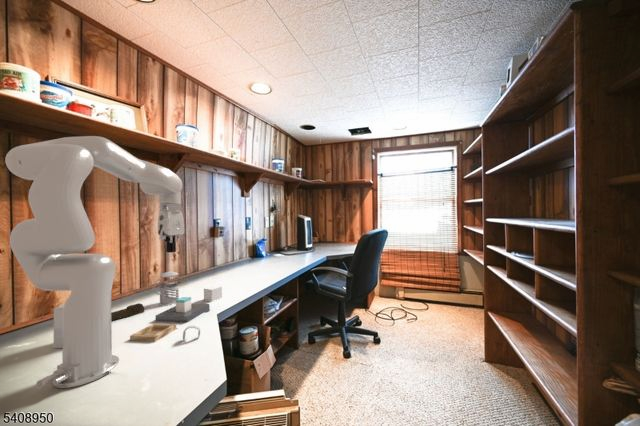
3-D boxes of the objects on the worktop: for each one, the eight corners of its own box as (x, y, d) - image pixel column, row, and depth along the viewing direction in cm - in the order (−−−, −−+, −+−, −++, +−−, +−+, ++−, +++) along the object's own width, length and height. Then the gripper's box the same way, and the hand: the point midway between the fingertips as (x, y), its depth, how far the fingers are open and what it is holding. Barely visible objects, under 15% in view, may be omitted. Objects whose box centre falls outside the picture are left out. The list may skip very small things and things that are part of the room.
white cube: (212, 302, 119) (211, 289, 119) (203, 300, 122) (203, 288, 122) (222, 298, 124) (221, 286, 125) (214, 296, 127) (213, 285, 127)
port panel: (187, 324, 93) (187, 316, 93) (155, 323, 95) (155, 315, 95) (209, 310, 107) (209, 303, 107) (181, 309, 109) (181, 303, 109)
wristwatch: (183, 341, 80) (183, 326, 80) (200, 338, 82) (200, 323, 82) (182, 345, 77) (182, 329, 77) (199, 342, 79) (199, 326, 79)
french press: (183, 302, 120) (182, 251, 121) (156, 308, 112) (155, 254, 112) (177, 298, 127) (176, 250, 128) (151, 304, 119) (150, 253, 119)
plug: (184, 317, 99) (184, 300, 99) (176, 317, 100) (175, 300, 100) (191, 313, 103) (191, 297, 103) (183, 313, 103) (182, 297, 104)
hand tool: (87, 330, 92) (87, 317, 92) (85, 327, 94) (85, 315, 95) (146, 314, 107) (146, 303, 107) (143, 312, 109) (143, 301, 109)
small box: (73, 347, 78) (72, 307, 79) (52, 348, 78) (52, 308, 78) (95, 335, 86) (95, 299, 87) (77, 336, 86) (76, 299, 86)
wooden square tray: (154, 344, 78) (154, 337, 78) (128, 343, 80) (128, 336, 80) (177, 330, 88) (177, 324, 88) (153, 329, 90) (153, 323, 90)
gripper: (164, 207, 94) (164, 254, 93) (190, 209, 109) (191, 250, 108) (147, 208, 95) (147, 254, 95) (176, 209, 110) (176, 250, 109)
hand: (171, 252), depth 101 cm, fingers closed
